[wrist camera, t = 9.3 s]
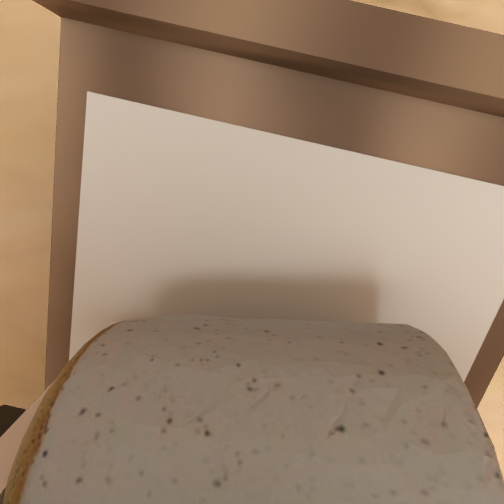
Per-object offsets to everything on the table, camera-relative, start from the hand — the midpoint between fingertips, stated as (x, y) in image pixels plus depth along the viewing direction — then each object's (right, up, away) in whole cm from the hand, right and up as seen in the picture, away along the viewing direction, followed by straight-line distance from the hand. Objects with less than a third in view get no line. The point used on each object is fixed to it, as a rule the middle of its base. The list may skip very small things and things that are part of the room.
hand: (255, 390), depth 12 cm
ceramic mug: (0, -1, +1) cm, 1 cm away
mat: (0, +1, +1) cm, 1 cm away
